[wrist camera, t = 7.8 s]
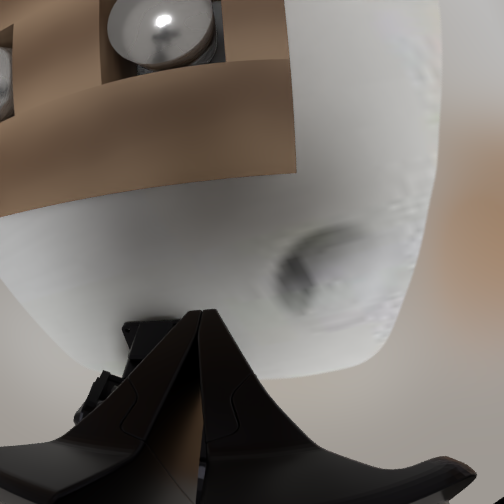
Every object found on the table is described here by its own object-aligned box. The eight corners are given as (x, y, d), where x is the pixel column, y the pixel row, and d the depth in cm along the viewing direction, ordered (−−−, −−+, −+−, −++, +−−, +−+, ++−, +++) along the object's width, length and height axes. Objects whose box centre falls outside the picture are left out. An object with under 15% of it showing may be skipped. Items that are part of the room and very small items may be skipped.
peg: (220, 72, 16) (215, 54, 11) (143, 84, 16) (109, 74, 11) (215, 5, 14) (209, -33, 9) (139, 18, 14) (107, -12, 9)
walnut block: (277, 155, 19) (296, 172, 13) (0, 202, 18) (-46, 230, 13) (258, -59, 12) (268, -105, 6) (-13, 24, 11) (-59, 18, 6)
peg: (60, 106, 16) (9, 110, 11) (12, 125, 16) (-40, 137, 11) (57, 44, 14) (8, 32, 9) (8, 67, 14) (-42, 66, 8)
